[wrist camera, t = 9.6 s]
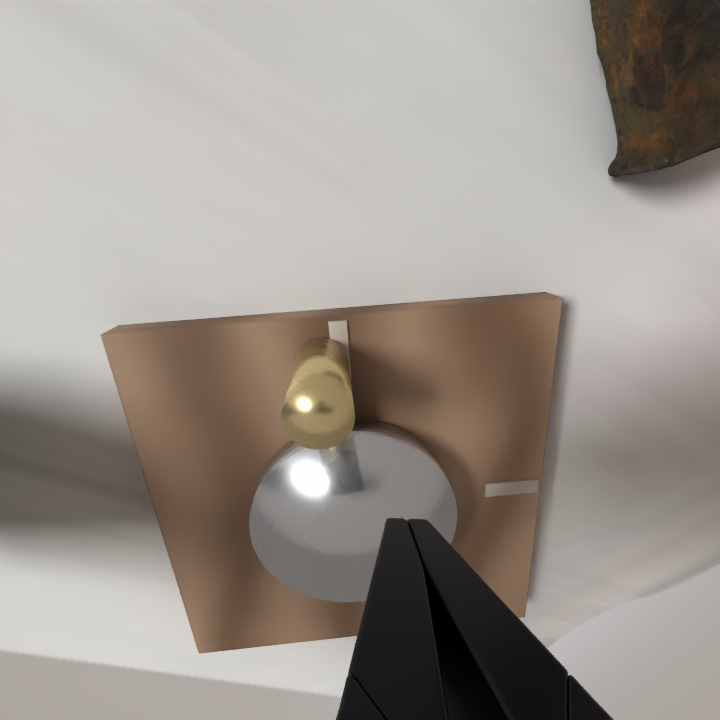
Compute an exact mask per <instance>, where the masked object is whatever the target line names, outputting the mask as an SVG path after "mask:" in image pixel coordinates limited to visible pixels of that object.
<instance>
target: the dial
mask: <svg viewBox="0 0 720 720" xmlns="http://www.w3.org/2000/svg"><path fill="white" fill-rule="evenodd" d="M281 421H282V425H283V428H284V430H285V432H286V434H287V435H288V436H289V437H290V439H291V440H290V441H289V442H288V443H286V444H285V445H284V446H283V447H282V448H281V449H279V450H278V451H277V452H276V453H275V455H274V456H273V457H272V458H271V459H270V461H269V462H268V464H267V465H266V467H265V468H264V470H263V472H262V474H261V477H260V479H259V481H258V485H257V488H256V492H255V496H254V500H253V503H252V507H251V511H250V519H249V529H250V537H251V541H252V545H253V548H254V550H255V552H256V554H257V556H258V558H259V559H260V561H261V563H262V564H263V566H264V567H265V568H266V569H267V570H268V571H269V572H270V573H271V574H272V575H273V576H274V577H275V578H276V579H277V580H279V581H280V582H281V583H283V584H284V585H286V586H287V587H289V588H291V589H293V590H295V591H297V592H299V593H301V594H304V595H307V596H309V597H313V598H317V599H321V600H326V601H333V602H362V601H366V599H367V595H368V591H369V587H370V583H371V578H372V574H373V570H374V566H375V562H376V558H377V554H378V550H379V546H380V542H381V538H382V534H383V530H384V526H385V522H386V519H387V518H404V519H405V520H408V519H425V520H428V521H429V522H430V523H431V524H432V525H433V526H434V527H435V528H436V530H437V531H438V532H439V533H440V534H441V535H442V536H443V537H444V538H445V539H446V540H447V541H448V542H449V544H451V542H452V540H453V537H454V534H455V530H456V525H457V505H456V500H455V496H454V493H453V490H452V488H451V485H450V483H449V481H448V478H447V476H446V474H445V471H444V469H443V467H442V465H441V464H440V462H439V460H438V458H437V457H436V456H435V454H434V453H433V452H432V451H431V449H430V448H429V447H427V446H426V445H425V444H424V443H423V442H422V441H421V440H419V439H418V438H416V437H415V436H414V435H412V434H410V433H408V432H406V431H404V430H402V429H400V428H398V427H395V426H392V425H389V424H385V423H381V422H377V421H368V420H355V411H354V402H353V394H352V385H351V376H350V368H349V359H348V355H347V353H346V351H345V349H344V348H343V347H342V346H341V345H340V344H339V343H337V342H336V341H334V340H331V339H328V338H315V339H312V340H309V341H307V342H306V343H304V344H303V345H302V346H301V347H300V349H299V350H298V352H297V354H296V357H295V361H294V365H293V369H292V373H291V377H290V381H289V385H288V389H287V393H286V397H285V401H284V405H283V409H282V414H281Z"/></svg>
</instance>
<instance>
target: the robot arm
mask: <svg viewBox="0 0 720 720" xmlns="http://www.w3.org/2000/svg"><path fill="white" fill-rule="evenodd" d="M336 720H613V718H612V717H611V716H610V715H609V714H608V713H607V712H606V711H605V710H604V709H603V708H602V707H601V706H600V705H599V704H598V703H597V702H596V701H595V700H594V699H593V698H592V697H591V695H590V694H589V693H588V692H587V691H586V690H585V689H584V688H583V687H582V686H581V685H580V684H579V683H578V681H577V680H576V679H575V678H574V677H573V676H571V675H569V676H568V672H567V670H566V669H565V668H564V667H563V666H562V664H561V663H560V662H559V661H558V660H557V659H556V658H555V657H554V656H553V655H552V654H551V653H550V652H549V650H548V649H547V648H546V647H545V646H544V645H543V644H542V643H541V642H540V641H539V640H538V639H537V637H536V636H535V635H534V634H533V633H532V632H531V631H530V630H529V629H528V628H527V627H526V626H525V624H524V623H523V622H522V621H521V620H520V619H519V618H518V617H517V616H516V615H515V614H514V613H513V612H512V610H511V609H510V608H509V607H508V606H507V605H506V604H505V603H504V602H503V601H502V600H501V599H500V598H499V596H498V595H497V594H496V593H495V592H494V591H493V590H492V589H491V588H490V587H489V586H488V585H487V583H486V582H485V581H484V580H483V579H482V578H481V577H480V576H479V575H478V574H477V573H476V572H475V571H474V569H473V568H472V567H471V566H470V565H469V564H468V563H467V562H466V561H465V560H464V559H463V558H462V557H461V555H460V554H459V553H458V552H457V551H456V550H455V549H454V548H453V547H452V546H451V545H450V544H449V542H448V541H447V540H446V539H445V538H444V537H443V536H442V535H441V534H440V533H439V532H438V531H437V530H436V528H435V527H434V526H433V525H432V524H431V523H430V522H429V521H428V520H425V519H408V520H405V519H404V518H387V519H386V522H385V526H384V530H383V534H382V538H381V542H380V546H379V550H378V554H377V558H376V562H375V566H374V570H373V574H372V578H371V583H370V587H369V591H368V595H367V599H366V603H365V607H364V611H363V615H362V619H361V623H360V627H359V631H358V635H357V639H356V643H355V648H354V652H353V656H352V660H351V664H350V668H349V672H348V677H347V679H346V683H345V687H344V691H343V695H342V699H341V703H340V707H339V711H338V714H337V718H336Z"/></svg>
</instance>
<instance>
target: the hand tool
mask: <svg viewBox="0 0 720 720" xmlns="http://www.w3.org/2000/svg"><path fill="white" fill-rule="evenodd" d="M590 3H591V11H592V22H593V27H594V30H595V34H596V44H597V54H598V56H599V59H600V61H601V63H602V65H603V68H604V73H605V78H606V88H607V91H608V95H609V99H610V102H611V106H612V111H613V116H614V121H615V125H616V132H617V140H618V146H617V154H616V158H615V159H614V160H613V162H612V163H611V164H610V166H609V169H608V173H609V175H610V176H614V177H617V176H621V175H632V174H639V173H644V172H650V171H655V170H660V169H663V168H667V167H671V166H674V165H676V164H679V163H681V162H684V161H686V160H688V159H691V158H693V157H696V156H698V155H701V154H703V153H706V152H709V151H711V150H714V149H717V148H720V0H590Z"/></svg>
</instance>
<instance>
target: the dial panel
mask: <svg viewBox="0 0 720 720" xmlns="http://www.w3.org/2000/svg"><path fill="white" fill-rule="evenodd" d="M561 306H562V298H560V297H557V296H554V295H552V294H549V293H546V292H540V293H528V294H515V295H502V296H489V297H476V298H464V299H451V300H438V301H425V302H412V303H400V304H387V305H374V306H361V307H349V308H336V309H323V310H310V311H297V312H285V313H272V314H259V315H246V316H233V317H221V318H208V319H195V320H182V321H170V322H157V323H144V324H131V325H119V326H117V327H115V328H113V329H111V330H109V331H107V332H105V333H103V334H102V335H101V337H102V341H103V344H104V347H105V350H106V354H107V357H108V360H109V363H110V367H111V370H112V373H113V376H114V380H115V383H116V386H117V389H118V393H119V396H120V399H121V402H122V406H123V409H124V412H125V415H126V419H127V422H128V425H129V428H130V432H131V435H132V438H133V441H134V445H135V448H136V451H137V454H138V457H139V461H140V464H141V467H142V470H143V474H144V477H145V480H146V483H147V487H148V490H149V493H150V496H151V500H152V503H153V506H154V509H155V513H156V516H157V519H158V522H159V526H160V529H161V532H162V535H163V539H164V542H165V545H166V548H167V552H168V555H169V558H170V561H171V565H172V568H173V571H174V574H175V577H176V581H177V584H178V587H179V590H180V594H181V597H182V600H183V603H184V607H185V610H186V613H187V616H188V620H189V623H190V626H191V629H192V633H193V636H194V639H195V642H196V646H197V649H198V652H199V653H207V652H216V651H225V650H234V649H243V648H252V647H261V646H270V645H278V644H287V643H296V642H305V641H314V640H323V639H332V638H341V637H350V636H357V635H358V631H359V627H360V623H361V619H362V615H363V611H364V607H365V603H366V601H362V602H333V601H326V600H321V599H317V598H313V597H309V596H307V595H304V594H301V593H299V592H297V591H295V590H293V589H291V588H289V587H287V586H286V585H284V584H283V583H281V582H280V581H279V580H277V579H276V578H275V577H274V576H273V575H272V574H271V573H270V572H269V571H268V570H267V569H266V568H265V567H264V566H263V564H262V563H261V561H260V559H259V558H258V556H257V554H256V552H255V550H254V548H253V545H252V541H251V537H250V529H249V519H250V511H251V507H252V503H253V500H254V496H255V492H256V488H257V485H258V481H259V479H260V477H261V474H262V472H263V470H264V468H265V467H266V465H267V464H268V462H269V461H270V459H271V458H272V457H273V456H274V455H275V453H276V452H277V451H278V450H279V449H281V448H282V447H283V446H284V445H285V444H286V443H288V442H289V441H290V440H291V439H290V437H289V436H288V435H287V434H286V432H285V430H284V428H283V425H282V421H281V414H282V409H283V405H284V401H285V397H286V393H287V389H288V385H289V381H290V377H291V373H292V369H293V365H294V361H295V357H296V354H297V352H298V350H299V349H300V347H301V346H302V345H303V344H304V343H306V342H307V341H309V340H312V339H315V338H328V339H331V340H334V341H336V342H337V343H339V344H340V345H341V346H342V347H343V348H344V349H345V351H346V353H347V355H348V359H349V368H350V376H351V385H352V394H353V402H354V411H355V420H368V421H377V422H381V423H385V424H389V425H392V426H395V427H398V428H400V429H402V430H404V431H406V432H408V433H410V434H412V435H414V436H415V437H416V438H418V439H419V440H421V441H422V442H423V443H424V444H425V445H426V446H427V447H429V448H430V449H431V451H432V452H433V453H434V454H435V456H436V457H437V458H438V460H439V462H440V464H441V465H442V467H443V469H444V471H445V474H446V476H447V478H448V481H449V483H450V485H451V488H452V490H453V493H454V496H455V500H456V505H457V525H456V530H455V534H454V537H453V540H452V542H451V544H450V545H451V546H452V547H453V548H454V549H455V550H456V551H457V552H458V553H459V554H460V555H461V557H462V558H463V559H464V560H465V561H466V562H467V563H468V564H469V565H470V566H471V567H472V568H473V569H474V571H475V572H476V573H477V574H478V575H479V576H480V577H481V578H482V579H483V580H484V581H485V582H486V583H487V585H488V586H489V587H490V588H491V589H492V590H493V591H494V592H495V593H496V594H497V595H498V596H499V598H500V599H501V600H502V601H503V602H504V603H505V604H506V605H507V606H508V607H509V608H510V609H511V610H512V612H513V613H514V614H515V615H516V616H517V617H518V618H519V617H525V612H526V603H527V595H528V586H529V578H530V569H531V561H532V552H533V544H534V535H535V527H536V519H537V510H538V502H539V493H540V485H541V476H542V468H543V459H544V451H545V442H546V434H547V425H548V417H549V408H550V400H551V391H552V383H553V374H554V366H555V357H556V349H557V340H558V332H559V323H560V315H561Z"/></svg>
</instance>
